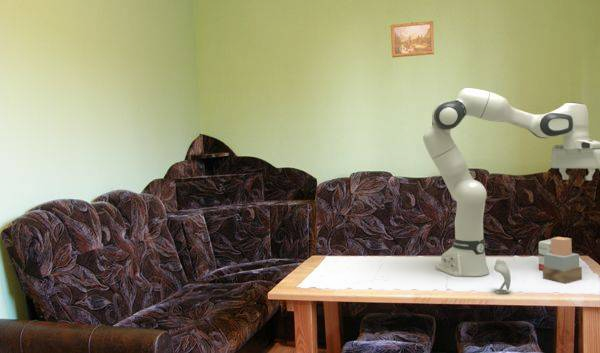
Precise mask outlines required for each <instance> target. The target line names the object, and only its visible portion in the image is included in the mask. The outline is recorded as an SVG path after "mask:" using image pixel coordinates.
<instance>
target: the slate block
mask: <svg viewBox="0 0 600 353" xmlns="http://www.w3.org/2000/svg"><path fill="white" fill-rule="evenodd" d="M544 267H547V268H552V269H557V270H561V271H566V270H570V269H574V268H578V267H580V254H579V253H574V252H572V254H570V255H566V256H560V255H554V254H551V253H547V254H544Z"/></svg>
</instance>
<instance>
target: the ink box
mask: <svg viewBox="0 0 600 353" xmlns="http://www.w3.org/2000/svg"><path fill="white" fill-rule="evenodd" d="M547 253H551V238H548V239H545V240H540V241H539V242H538V270H539V271H542V272H543V267H544V254H547Z"/></svg>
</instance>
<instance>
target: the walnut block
mask: <svg viewBox="0 0 600 353" xmlns="http://www.w3.org/2000/svg"><path fill="white" fill-rule="evenodd" d="M582 273H583V269H582V266H579V267H578V268H574V269H570V270H566V271H561V270H557V269H552V268H547V267H543V271H542V278H543V280H547V281H551V282H555V283H560V284H564V285H567V284H571V283H573V282H577V281H580V280H581V281H582V280H583V275H582Z"/></svg>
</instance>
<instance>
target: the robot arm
mask: <svg viewBox="0 0 600 353" xmlns="http://www.w3.org/2000/svg"><path fill="white" fill-rule="evenodd" d="M431 115H432V116H431V120H432V122H431V124H432V126H431V127H429V128H428V129H427V130H426V131H425V132H424V134H423V136H422V138H423V139H422V141H423V143H424V146H425V148H426V151H427V153H428V155H429V156H430V158H431V160H432V161H433V163H434V165H435V167H436V168H437V171H438V172H439V173H440V176H441V178H442V179H443V181H444V183H445V186H446V188H447V189H448V192H449V194H450V196H451V197H452V199H453V200H454V201H455V202H456V211H455V218H454V236H455V237H454V238H453V239H451V240H450V243H452V246H451V247H450V248H449V249H447V250H446V251H445V252H443V254H442V255H441V256H440V263H439V264H437V265H435V269H436V270H439V271H441V272H444V273H445V274H448V275H450V276H454V277H481V276H487V275H488V274H490V271H489V267H488V263H487V258H486V257H487V256H486V252H485V251H486V250H485V248H486V240H485V238H484V213H485V208H486V207H485V206H486V201H487V200H486V199H487V195H488V194H487V190H486V188H485V186H484V185H483V183H481V181H478V180H476V179H474V178H473V176H472V174H471V172H470V170H469V168H468V166H467V161H466V160H465V158H464V156H463V155H462V153H461V151H460V149H459V148H458V146H457V145H456V142H455V141H454V139H453V137H452V134H451V131H452V129H455V128H456V127H457V126H459V125H460V124H461V122H462V121H463V119H464V118H465V117H467V116H469V117H473V118H477V119H481V120H484V121H489V122H498V123H507V124H510V125H513V126H517V127H520V128H523V129H525V130H528V131H529V132H530V133H531V134H532V135H533V136H535V137H536V138H538V139H549V138H555V137H559V136H562V144H560V145H559V144H557V145H554V146H553V147H552V148H551V156H550V167H551V169H559V170H558V171H559V173H560V174H561V176H562V180H565V181H566V180H567V181H568V180H570V178H569V177H570V175H569V174H567V172H566V171H567V169H587V171H588V174H587V175H585V181H592V180H593V176H594V173H595V172H596V169H600V141H599V140H598V141H597V140H595V139H591V138H590V133H589V125H590V122H589V121H590V120H589V119H590V118H589V111H588V107H587V105H586V104H584V103H583V102H582V103H581V102H575V101H574V102H566V103H563V105H561V106H560V107H558V108H557V109H553V110H552V111H549V112H547V113H539V114H537V113H536V114H535V113H530V112H526V111H525V110H524V111H523V110H521V109H517V108H515V107H513V106H512V105H510V103H509V101H508V99H507V98H505V97H503V96H501V95H499V94H497V93H495V92H491V91H488V90H484V89H480V88H471V87H465V88H463V89H461V90H460V91H459V92H458V93H457V95H456V98H455V100H452V101H442V102H440V103H438V104H437V105H436V106H435V107H434V108H433V111H432V114H431Z"/></svg>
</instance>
